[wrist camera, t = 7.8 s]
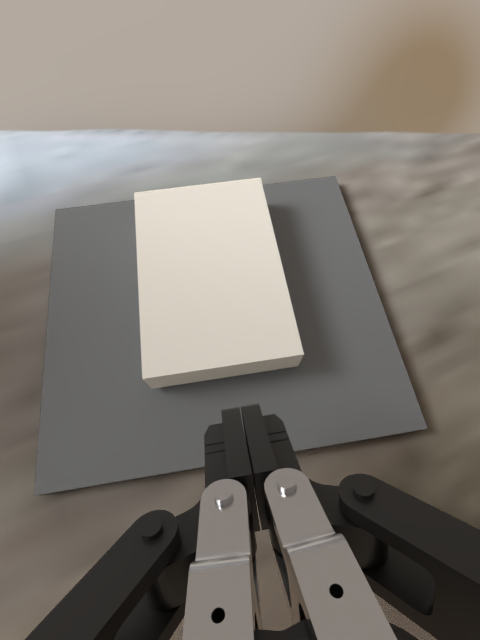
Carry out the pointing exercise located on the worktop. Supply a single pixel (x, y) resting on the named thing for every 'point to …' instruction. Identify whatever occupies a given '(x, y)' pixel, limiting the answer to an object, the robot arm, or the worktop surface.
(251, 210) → the tile
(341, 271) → the mat
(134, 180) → the worktop surface
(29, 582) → the worktop surface
